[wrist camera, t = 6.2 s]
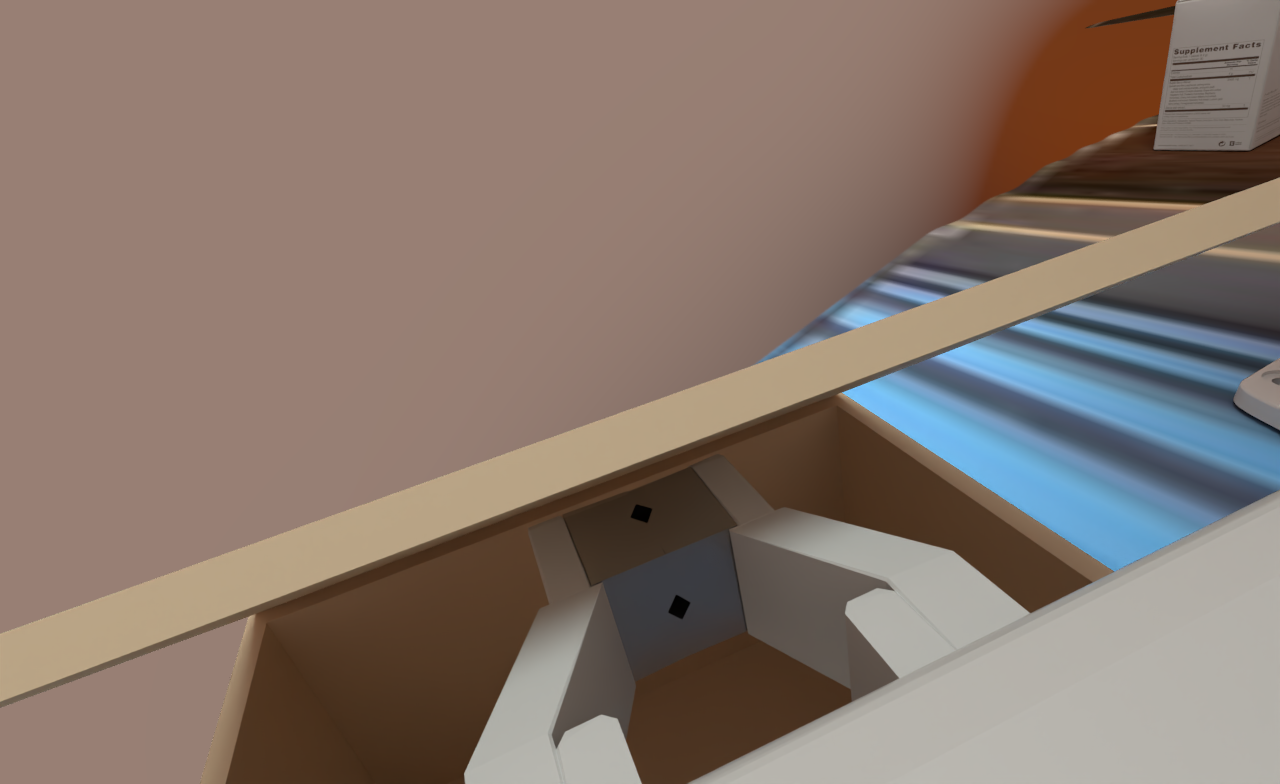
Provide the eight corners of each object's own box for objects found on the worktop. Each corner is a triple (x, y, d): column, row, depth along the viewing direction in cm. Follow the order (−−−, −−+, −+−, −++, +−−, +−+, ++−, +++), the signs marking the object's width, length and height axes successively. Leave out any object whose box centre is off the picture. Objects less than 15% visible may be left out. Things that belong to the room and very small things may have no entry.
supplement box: (1192, 131, 76) (1219, -15, 69) (1291, 130, 69) (1332, -33, 62) (1149, 151, 73) (1173, -1, 66) (1249, 152, 66) (1287, -18, 59)
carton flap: (1368, 188, 8) (1346, 146, 8) (-749, 983, 4) (-759, 888, 4) (836, 394, 23) (829, 378, 23) (255, 613, 19) (250, 594, 19)
